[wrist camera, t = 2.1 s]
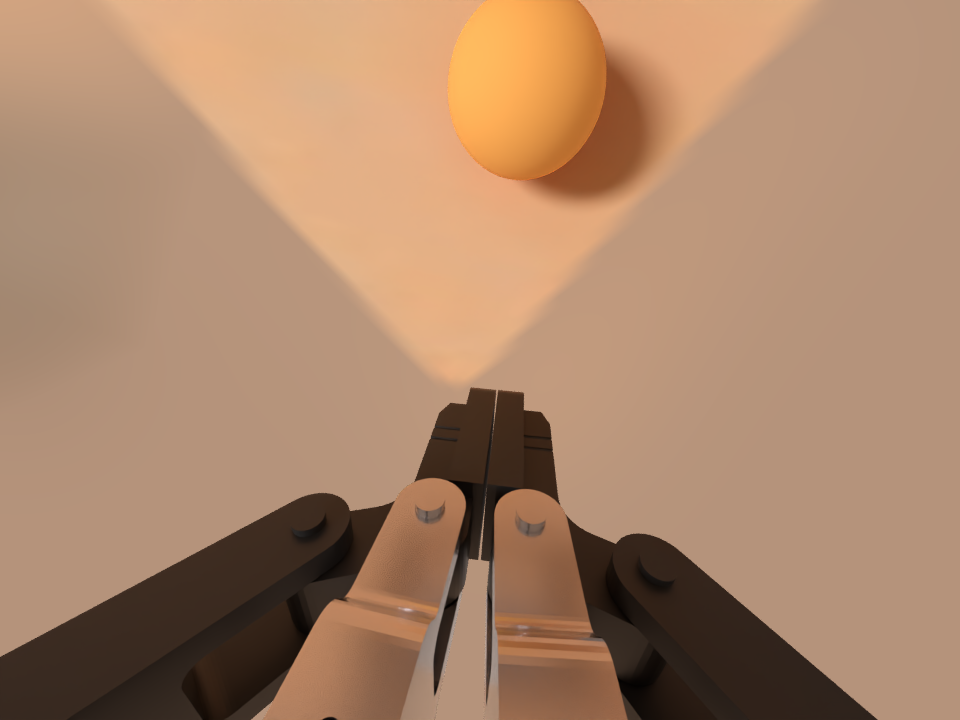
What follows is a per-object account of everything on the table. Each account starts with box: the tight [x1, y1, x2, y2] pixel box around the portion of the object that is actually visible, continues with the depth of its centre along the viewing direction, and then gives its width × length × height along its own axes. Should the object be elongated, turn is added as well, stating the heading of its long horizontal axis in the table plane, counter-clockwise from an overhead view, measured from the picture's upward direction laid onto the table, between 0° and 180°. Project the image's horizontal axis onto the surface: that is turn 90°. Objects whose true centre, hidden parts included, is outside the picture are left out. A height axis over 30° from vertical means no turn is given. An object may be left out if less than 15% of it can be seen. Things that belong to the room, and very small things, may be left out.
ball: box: [448, 0, 606, 180], centre depth 14 cm, size 6×6×6 cm
